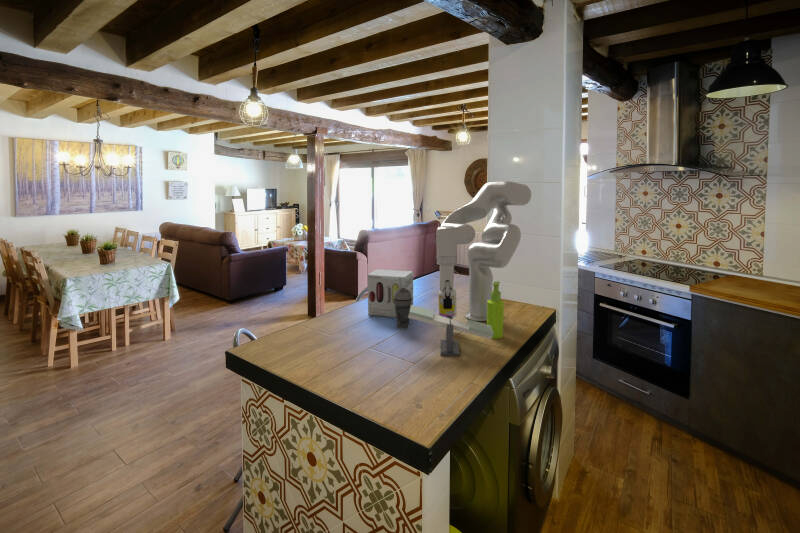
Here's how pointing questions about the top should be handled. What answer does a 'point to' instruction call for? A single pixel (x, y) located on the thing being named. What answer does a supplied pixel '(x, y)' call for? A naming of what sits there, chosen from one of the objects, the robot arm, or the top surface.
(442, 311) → the supplement bottle
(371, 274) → the supplement box
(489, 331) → the beam
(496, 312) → the soap dispenser
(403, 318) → the beverage cup
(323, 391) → the top surface
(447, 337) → the pivot stand
